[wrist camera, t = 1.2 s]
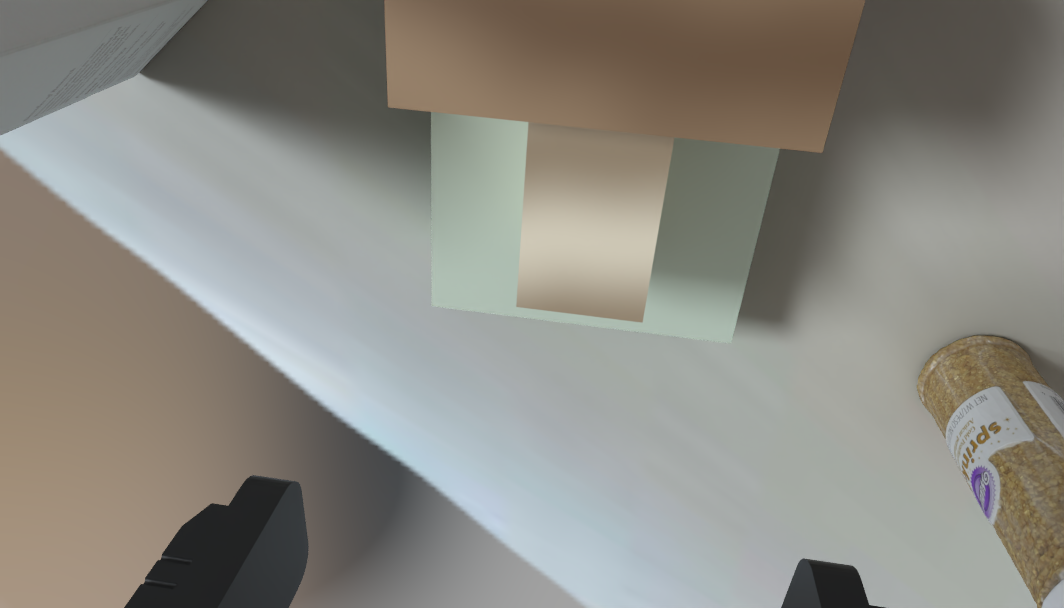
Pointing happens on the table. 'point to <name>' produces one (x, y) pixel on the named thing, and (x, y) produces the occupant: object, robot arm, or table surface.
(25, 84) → the skincare box
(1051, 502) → the sprinkles bottle
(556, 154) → the birch block
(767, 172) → the tunnel deck
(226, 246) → the table surface
